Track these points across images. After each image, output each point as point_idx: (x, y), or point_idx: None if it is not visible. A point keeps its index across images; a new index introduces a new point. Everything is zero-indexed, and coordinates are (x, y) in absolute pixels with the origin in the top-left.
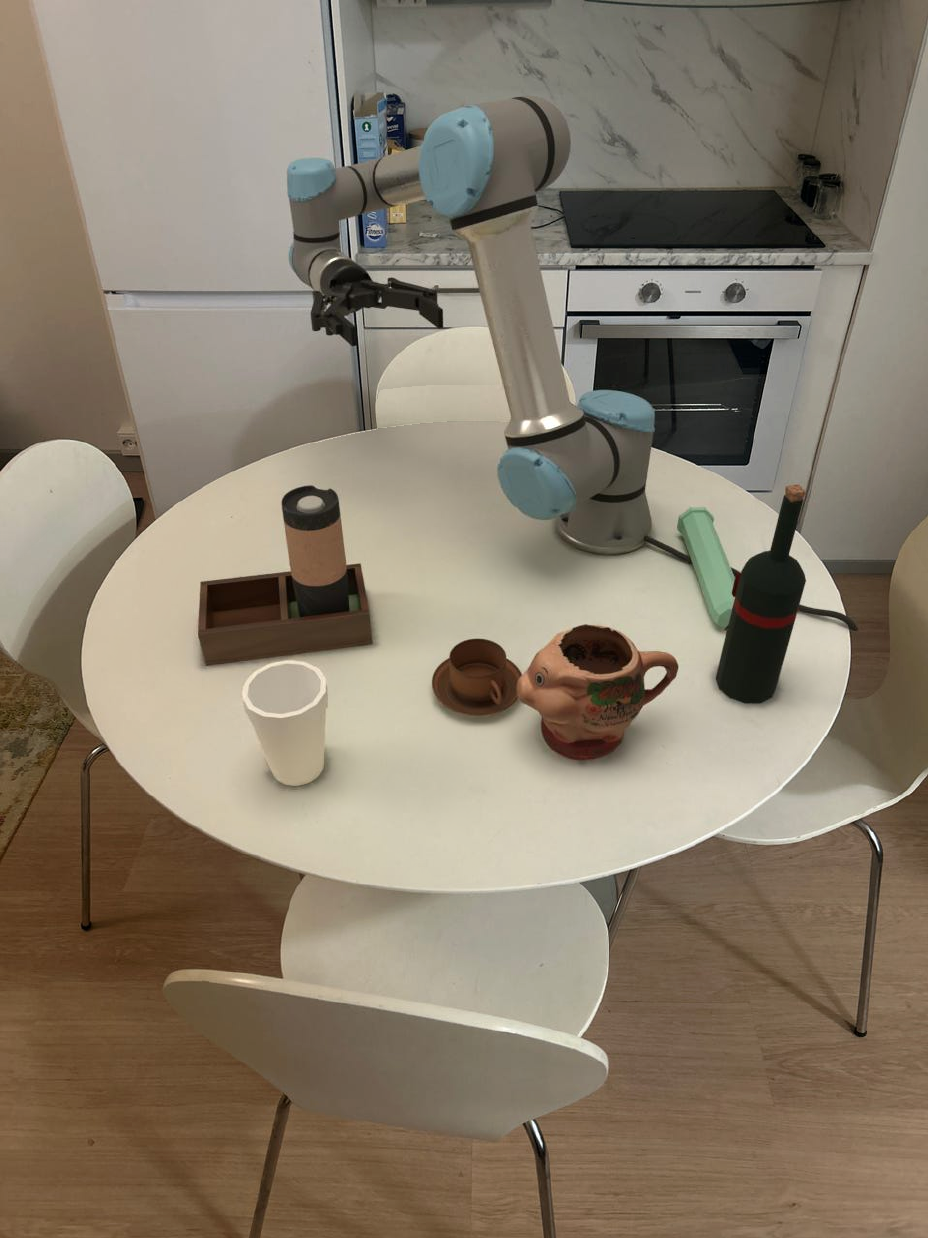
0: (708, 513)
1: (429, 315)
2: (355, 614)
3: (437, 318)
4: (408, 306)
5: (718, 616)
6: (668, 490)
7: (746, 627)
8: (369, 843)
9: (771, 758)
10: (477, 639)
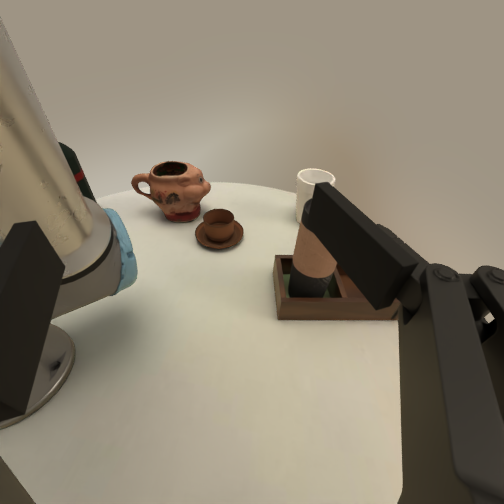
0: None
1: (39, 302)
2: (284, 255)
3: (50, 248)
4: (21, 494)
5: None
6: None
7: (85, 177)
8: (277, 195)
9: (115, 197)
10: (214, 226)
